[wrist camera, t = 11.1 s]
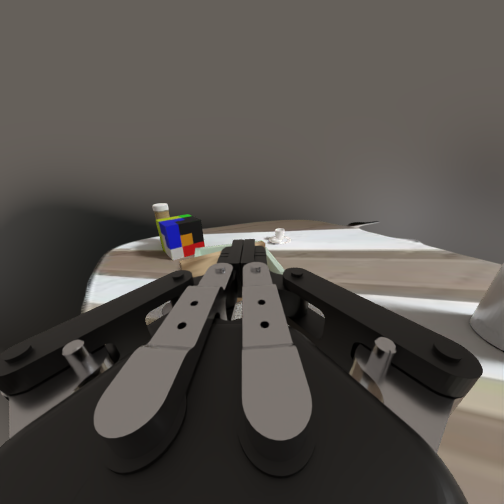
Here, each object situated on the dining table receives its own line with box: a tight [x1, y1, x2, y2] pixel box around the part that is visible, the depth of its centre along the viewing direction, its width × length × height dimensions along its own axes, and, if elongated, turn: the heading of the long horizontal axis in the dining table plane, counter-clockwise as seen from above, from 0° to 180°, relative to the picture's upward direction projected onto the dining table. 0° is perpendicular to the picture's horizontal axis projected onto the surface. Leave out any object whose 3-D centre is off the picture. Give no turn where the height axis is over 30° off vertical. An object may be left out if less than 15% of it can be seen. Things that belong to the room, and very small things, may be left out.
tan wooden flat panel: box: [162, 241, 265, 316], centre depth 30 cm, size 18×4×10 cm, turn 121°
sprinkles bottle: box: [153, 203, 170, 220], centre depth 63 cm, size 5×5×14 cm
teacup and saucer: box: [268, 228, 291, 244], centre depth 65 cm, size 9×8×4 cm
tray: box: [195, 241, 285, 275], centre depth 44 cm, size 18×18×4 cm
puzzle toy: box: [156, 215, 205, 260], centre depth 57 cm, size 10×10×10 cm
